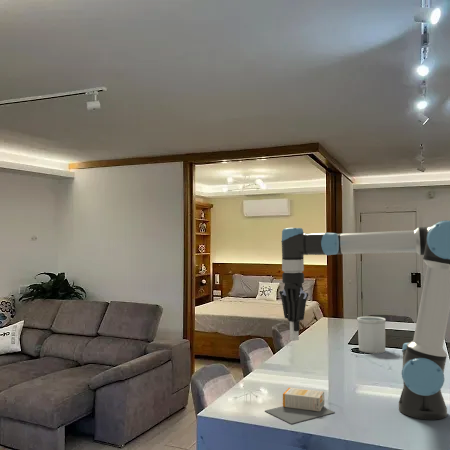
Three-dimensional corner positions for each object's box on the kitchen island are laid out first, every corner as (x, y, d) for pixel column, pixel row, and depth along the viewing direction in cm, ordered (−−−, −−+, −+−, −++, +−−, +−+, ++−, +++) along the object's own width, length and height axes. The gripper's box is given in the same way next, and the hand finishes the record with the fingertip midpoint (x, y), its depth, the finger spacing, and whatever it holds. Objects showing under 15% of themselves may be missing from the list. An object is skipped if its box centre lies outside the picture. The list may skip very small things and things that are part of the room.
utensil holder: (383, 354, 242) (382, 321, 242) (354, 351, 249) (354, 319, 250) (388, 349, 254) (387, 317, 255) (361, 346, 262) (360, 315, 263)
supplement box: (282, 407, 161) (320, 412, 155) (282, 393, 161) (319, 397, 156) (289, 400, 168) (325, 405, 163) (288, 387, 168) (324, 391, 163)
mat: (334, 412, 156) (334, 412, 156) (291, 424, 146) (291, 423, 146) (306, 401, 168) (306, 400, 168) (264, 411, 158) (264, 410, 158)
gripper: (313, 272, 158) (315, 341, 156) (289, 271, 169) (290, 336, 168) (297, 273, 154) (298, 344, 152) (273, 271, 165) (274, 338, 164)
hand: (294, 340), depth 160 cm, fingers closed
